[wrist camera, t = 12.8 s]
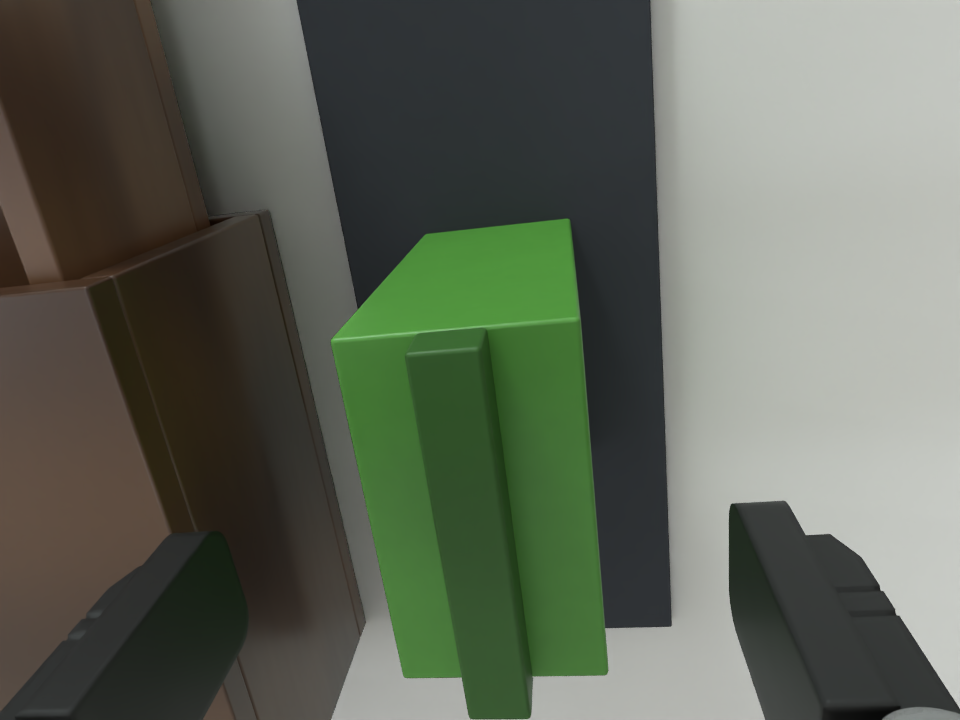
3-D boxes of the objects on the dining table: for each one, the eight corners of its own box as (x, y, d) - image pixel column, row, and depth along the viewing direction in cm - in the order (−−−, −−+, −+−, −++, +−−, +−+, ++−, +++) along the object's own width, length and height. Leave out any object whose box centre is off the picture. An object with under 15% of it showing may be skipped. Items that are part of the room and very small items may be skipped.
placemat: (293, -39, 18) (287, -42, 18) (644, -100, 17) (646, -104, 16) (424, 625, 26) (422, 633, 25) (670, 618, 24) (671, 627, 24)
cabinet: (-150, 258, 22) (-536, 351, 15) (269, 208, 20) (86, 286, 12) (22, 632, 28) (-189, 847, 20) (366, 622, 26) (282, 859, 18)
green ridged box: (424, 233, 20) (308, 361, 11) (570, 217, 19) (583, 338, 10) (459, 460, 22) (391, 722, 13) (589, 452, 22) (612, 720, 13)
